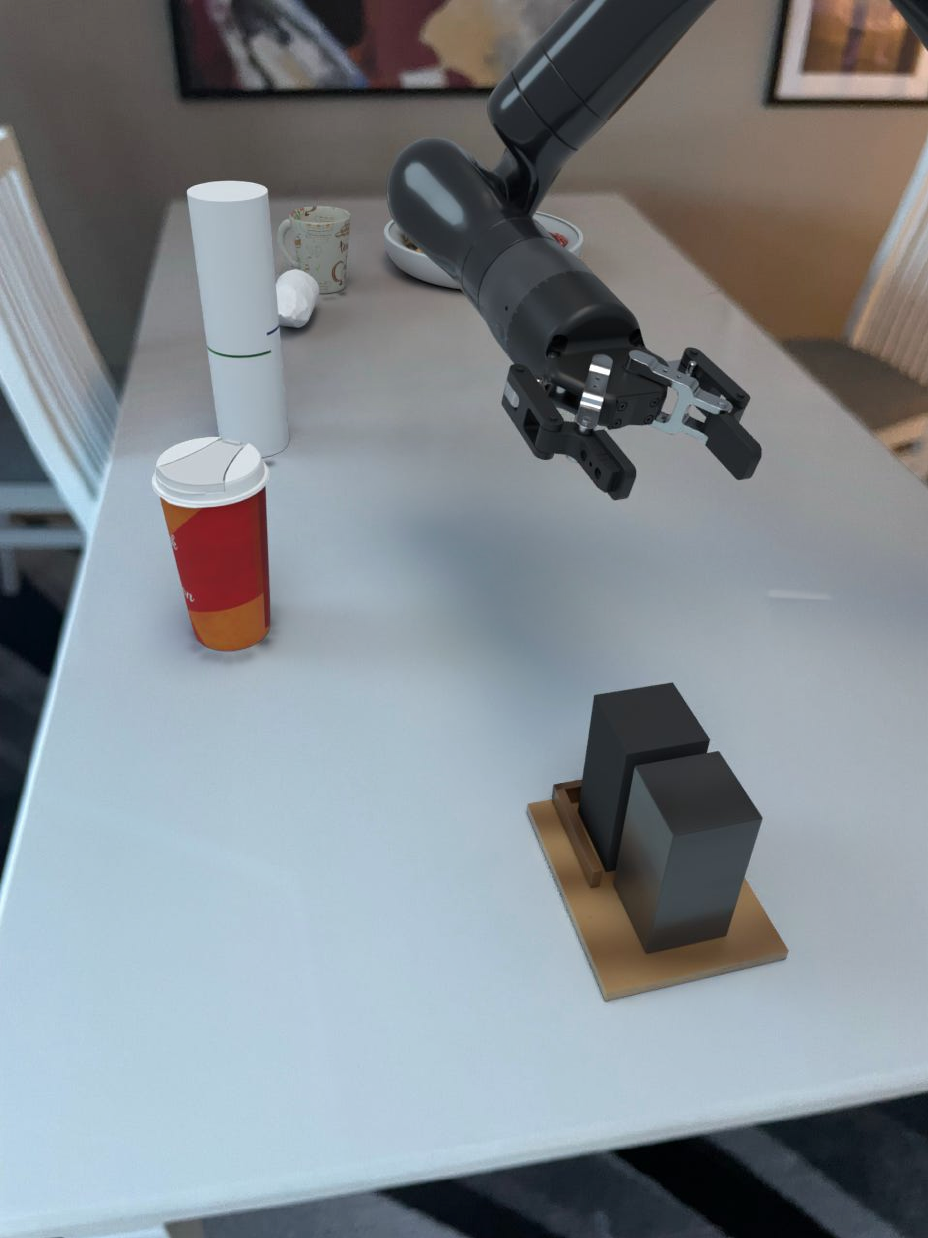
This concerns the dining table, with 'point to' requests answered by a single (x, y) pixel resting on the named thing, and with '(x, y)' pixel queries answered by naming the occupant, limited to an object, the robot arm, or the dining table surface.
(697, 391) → the robot arm
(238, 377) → the cylindrical container
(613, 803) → the black rectangular block
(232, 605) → the coffee cup
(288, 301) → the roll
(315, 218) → the mug
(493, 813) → the dining table surface
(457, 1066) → the dining table surface
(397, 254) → the bowl
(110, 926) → the dining table surface
